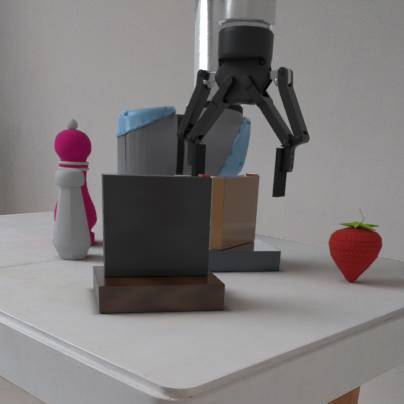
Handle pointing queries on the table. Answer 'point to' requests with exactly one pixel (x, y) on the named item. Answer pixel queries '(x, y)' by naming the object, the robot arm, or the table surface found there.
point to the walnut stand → (157, 293)
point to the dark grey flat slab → (156, 224)
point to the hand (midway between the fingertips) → (236, 193)
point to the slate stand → (245, 258)
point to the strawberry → (354, 248)
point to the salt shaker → (71, 216)
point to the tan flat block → (233, 210)
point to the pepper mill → (76, 164)
